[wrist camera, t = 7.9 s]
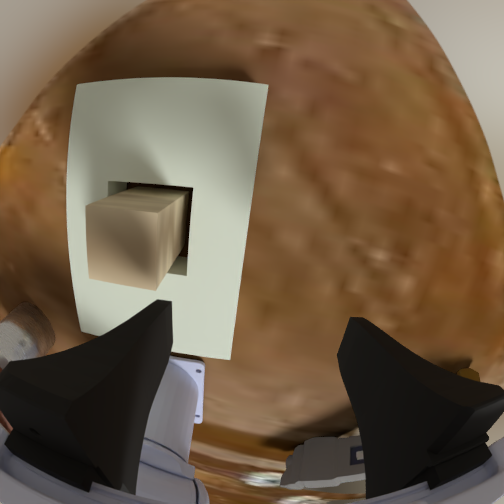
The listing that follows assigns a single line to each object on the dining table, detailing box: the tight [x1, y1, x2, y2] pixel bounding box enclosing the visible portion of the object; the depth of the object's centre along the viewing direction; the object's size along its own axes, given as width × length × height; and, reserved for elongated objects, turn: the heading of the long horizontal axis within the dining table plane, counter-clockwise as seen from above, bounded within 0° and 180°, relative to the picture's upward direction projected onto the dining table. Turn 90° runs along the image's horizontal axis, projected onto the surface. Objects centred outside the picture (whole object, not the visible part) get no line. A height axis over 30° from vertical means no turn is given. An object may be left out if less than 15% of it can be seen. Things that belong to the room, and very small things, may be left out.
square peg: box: [85, 186, 190, 291], centre depth 15 cm, size 4×4×7 cm
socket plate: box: [66, 77, 268, 360], centre depth 17 cm, size 18×12×3 cm, turn 172°
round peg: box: [0, 302, 55, 369], centre depth 19 cm, size 6×6×6 cm
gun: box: [280, 368, 480, 489], centre depth 25 cm, size 3×25×15 cm, turn 115°
